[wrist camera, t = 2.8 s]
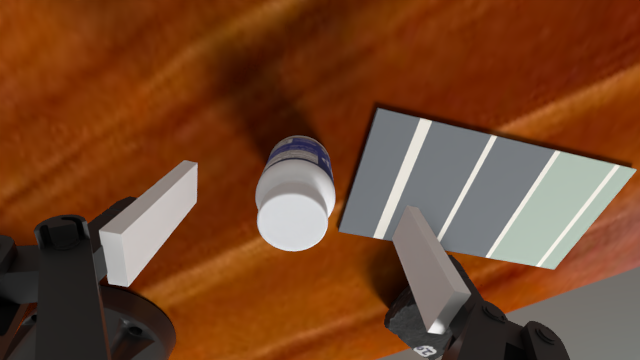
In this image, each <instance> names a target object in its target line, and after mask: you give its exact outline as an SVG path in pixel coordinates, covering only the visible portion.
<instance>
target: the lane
mask: <svg viewBox="0 0 640 360" xmlns="http://www.w3.org/2000/svg"><path fill="white" fill-rule="evenodd" d="M635 172H636V169H633V168H630V167H626V166H622V165H617V164H613V163H609V162H605V161H600V160H596V159H592V158H588V157H584V156H579V155H575V154H571V153H567V152H563V151H558V150H554V149H550V148H546V147H542V146H537V145H533V144H529V143H525V142H520V141H516V140H512V139H508V138H504V137H499V136H495V135H491V134H487V133H483V132H478V131H474V130H470V129H466V128H461V127H457V126H453V125H449V124H445V123H440V122H436V121H432V120H428V119H424V118H419V117H415V116H411V115H407V114H403V113H398V112H394V111H390V110H386V109H381V108H377V110H376V113H375V116H374V119H373V122H372V125H371V128H370V132H369V135H368V138H367V141H366V144H365V147H364V150H363V153H362V157H361V160H360V163H359V166H358V169H357V172H356V175H355V178H354V182H353V185H352V188H351V191H350V194H349V197H348V200H347V203H346V207H345V210H344V213H343V216H342V219H341V222H340V225H339V228H338V231H339V232H344V233H349V234H355V235H361V236H367V237H372V238H378V239H384V240H389V241H393V240H392V237H393V235H394V233H395V231H396V228H397V226H398V224H399V222H400V219H401V217H402V215H403V213H404V210H405V208H406V206H407V205H408V206H412V207H417V208H419V210H420V212H421V213H422V215H423V217H424V218H425V220H426V221H427V223H428V225H429V226H430V228H431V229H432V231H433V233H434V234H435V236H436V238H437V239H438V241H439V242H440V244H441V246H442V247H443V249H444V250H446V251H452V252H458V253H464V254H469V255H475V256H481V257H486V258H492V259H498V260H504V261H509V262H515V263H521V264H526V265H532V266H538V267H544V268H549V269H555V268H556V266H557V265H558V264H559V263H560V262H561V260H562V259H563V258H564V257H565V256H566V254H567V253H568V252H569V251H570V250H571V248H572V247H573V246H574V245H575V244H576V242H577V241H578V240H579V239H580V238H581V236H582V235H583V234H584V233H585V232H586V230H587V229H588V228H589V227H590V226H591V224H592V223H593V222H594V221H595V220H596V218H597V217H598V216H599V215H600V214H601V212H602V211H603V210H604V209H605V208H606V206H607V205H608V204H609V203H610V202H611V200H612V199H613V198H614V197H615V196H616V194H617V193H618V192H619V191H620V190H621V188H622V187H623V186H624V185H625V184H626V182H627V181H628V180H629V179H630V178H631V176H632V175H633V174H634V173H635Z"/></svg>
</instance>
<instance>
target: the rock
mask: <svg viewBox="0 0 640 360" xmlns="http://www.w3.org/2000/svg"><path fill="white" fill-rule="evenodd" d="M384 325H385V327H386V328H388V329H389V330H390V331H391V332H393V333H394V334H397V335H398V337H399V338H400V339H401V340H402V341H403V342H405V343H406V344H407V345H408V346H409V347H411V348H412V349H413V350H414V351H416V352H417V353H419V354H420V355H421V356H423V357H425V358H428V359H429V360H435V359H436V358H438V357H440V356H441V355H443V354H444V350H443V349H442V348H443V347H444V346H445V344H446V343H447V341H448V340H449V339H450V337H451V336H452V335H453V334H452V331H451V329H450V327H448V328H447V329H446V331H445V332H444V334H436V333H429V332H427V330H426V327H425V324H424V322H423V319H422V316H421V314H420V311H419V308H418V306H417V303H416V301H415V298H414V295H413V293H412V290H411V287H410V285H409V286H407V287H406V288H405V289H404V290H403V291H402V292H401V293H400V295H399V296H398V298H397V299H396V300H394V301H393V302H392V303H391V305H390V309H389V311H388V312H387V314H386V315H385V320H384Z"/></svg>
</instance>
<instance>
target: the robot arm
mask: <svg viewBox="0 0 640 360" xmlns="http://www.w3.org/2000/svg"><path fill="white" fill-rule="evenodd" d="M196 202H197V163H195V162H191V161H186V160H184V161H183V162H181V163H180V164H179V165H178V166H177V167H175V168H174V169H173V170H172V171H170V172H169V173H168V174H167V175H166V176H164V177H163V178H162V179H161V180H160V181H158V182H157V183H156V184H155V185H153V186H152V187H151V188H150V189H149V190H147V191H146V192H145V193H144V194H143V195H141V196H140V197H139V198H135V197H127V198H125V199H122V200H120V201H117V202H116V203H115V204H113V205H112V206H111V207H110V208H109V209H107V210H106V211H104V212H103V213H102V215H101V214H100V215H99V216H98V217H96V218H95V219H94V220H92V221H91V222H90V223H88V224H87V221H86V220H85V218H84V217H81V216H79V215H60V216H56V217H52V218H49V219H47V220H45V221H42V222H41V223H40V224H38V225H37V226H36V228H35V230H34V233H35V236H36V239H37V242H38V245H32V246H16V245H15V243H14V240H13V239H12V238H11V237H8V236H4V235H0V360H168V359H169V356H170V354H171V352H172V350H173V348H174V346H175V342H176V334H175V330H174V328H173V326H172V324H171V322H170V321H169V319H168V318H167V317H166V316H165V315H164V314H163V313H162V312H161V311H160V310H159V309H158V308H156V307H155V306H154V305H152V304H151V303H149V302H148V301H146V300H144V299H142V298H140V297H138V296H136V295H134V294H131V293H128V292H126V291H123V290H119V289H115V288H111V287H106V286H100V284H99V281H100V280H101V279H102V278H103V277H104V276H105V275H106V274H107V278H108V283H109V284H113V285H119V286H126V287H129V286H130V284H131V283H132V282H133V281H134V279H135V278H136V277H137V276H138V274H139V273H140V272H141V271H142V269H143V268H144V267H145V266H146V264H147V263H148V262H149V261H150V259H151V258H152V257H153V256H154V254H155V253H156V252H157V251H158V249H159V248H160V247H161V246H162V244H163V243H164V242H165V241H166V239H167V238H168V237H169V236H170V234H171V233H172V232H173V231H174V229H175V228H176V227H177V226H178V225H179V223H180V222H181V221H182V220H183V218H184V217H185V216H186V215H187V213H188V212H189V211H190V210H191V208H192V207H193V206H194V205H195V203H196ZM392 240H393V243H394V245H395V248H396V251H397V253H398V256H399V258H400V261H401V264H402V266H403V269H404V272H405V274H406V277H407V280H408V282H409V285H410V287H411V290H412V293H413V295H414V298H415V301H416V303H417V306H418V308H419V311H420V314H421V316H422V319H423V322H424V324H425V327H426V330H427V332H429V333H436V334H444V332H445V331H446V329H447V328H448V327H450V329H451V331H452V334H453V335H452V336H451V337H450V339H449V340H448V341H447V343H446V344H445V346H444V347H443V348H442V349H443V350H444V354H443V356H442V359H441V360H570V358H569V356H568V353H567V351H566V349H565V346H564V344H563V343H562V341H561V339H560V338H559V337H558V336H557V335H556V334H555V333H554V332H553V331H552V330H551V329H549V328H548V327H546V326H544V325H542V324H541V323H538V322H535V321H529V322H528V323H527V324H526V325H525V326H524V327H522V326H520V325H518V324H515V323H513V322H511V321H508V319H507V318H506V316H505V314H504V313H503V312H502V311H501V310H500V309H499V308H498V307H496V306H495V305H494V304H492V303H490V302H488V301H484V300H483V298H482V297H481V295H480V293H479V292H478V290H477V289H476V287H475V286H474V284H473V283H472V281H471V280H470V279H469V277H468V275H467V274H466V272H465V270H464V269H463V267H462V266H461V264H460V263H459V262H458V261H457V260H456V259H455V258H454V257H453V256H452V255H447V254H446V252H445V251H444V249H443V247H442V246H441V244H440V242H439V241H438V239H437V238H436V236H435V234H434V233H433V231H432V229H431V228H430V226H429V225H428V223H427V221H426V220H425V218H424V217H423V215H422V213H421V212H420V210H419V208H417V207H412V206H408V205H407V206H406V208H405V210H404V213H403V215H402V217H401V219H400V222H399V224H398V226H397V228H396V231H395V233H394V235H393V237H392ZM33 302H37V307H36V308H35V309H33V310H32V311H31V312H30V313H29V314H28V316H27V317H26V318H25V319H24V321H23V323H22V324H21V326H20V328H19V329H18V331H17V332H16V330H17V328H18V326H19V324H20V322H21V320H22V318H23V316H24V314H25V311H26V309H27V307H28V305H29V303H33ZM15 333H16V334H15ZM14 335H15V336H14Z"/></svg>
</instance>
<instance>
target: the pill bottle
mask: <svg viewBox="0 0 640 360" xmlns="http://www.w3.org/2000/svg"><path fill="white" fill-rule="evenodd" d="M255 198H256V205H257V208H258V210H259V212H258V216H257V225H258V229H259V232H260V233H261V235H262V237H263V238H264V239H265V240H266V241H267V242H268V243H269V244H271V245H273V246H274V247H276V248H279V249H282V250H287V251H300V250H305V249H308V248H310V247H312V246H314V245H315V244H317V243H318V242H319V241H320V240H321V239H322V238H323V236H324V235H325V232H326V230H327V226H328V217H329V216H330V214H331V212H332V210H333V208H334V204H335V188H334V182H333V176H332V170H331V164H330V158H329V155H328V153H327V151H326V150H325V148H324V147H323V146H322V145H321V144H320V143H319V142H318V141H316V140H314V139H312V138H310V137H307V136H291V137H288V138H285V139H283V140H282V141H280V142H279V143H278V144H277V145H276V146H275V147H274V148H273V150H272V152H271V154H270V156H269V159H268V161H267V164H266V166H265V168H264V171H263V173H262V175H261V177H260V179H259V182H258V185H257V189H256V197H255Z"/></svg>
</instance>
